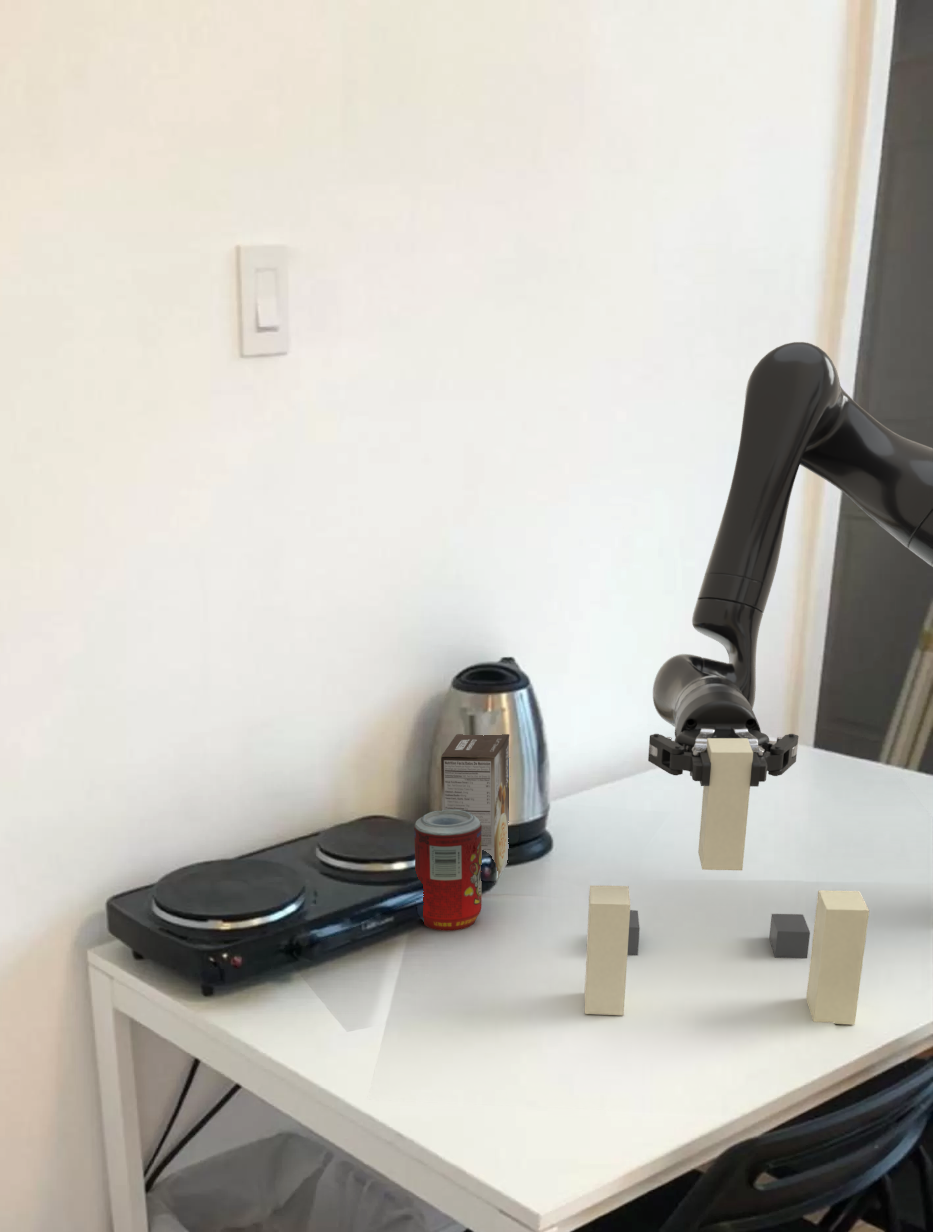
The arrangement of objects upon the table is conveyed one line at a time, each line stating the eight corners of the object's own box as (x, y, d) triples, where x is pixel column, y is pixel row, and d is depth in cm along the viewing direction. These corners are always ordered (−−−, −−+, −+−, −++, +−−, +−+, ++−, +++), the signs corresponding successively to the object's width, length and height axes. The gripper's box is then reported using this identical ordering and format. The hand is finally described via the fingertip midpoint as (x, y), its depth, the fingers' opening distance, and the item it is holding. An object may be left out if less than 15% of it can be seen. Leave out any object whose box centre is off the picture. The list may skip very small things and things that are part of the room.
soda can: (487, 933, 159) (486, 824, 154) (420, 938, 159) (417, 830, 154) (476, 909, 165) (475, 803, 160) (412, 913, 166) (409, 808, 161)
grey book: (635, 941, 155) (637, 910, 153) (637, 959, 150) (639, 927, 149) (605, 940, 155) (607, 909, 154) (606, 958, 151) (608, 926, 150)
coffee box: (456, 860, 181) (455, 732, 174) (509, 863, 179) (510, 733, 172) (441, 888, 173) (439, 754, 167) (496, 891, 171) (497, 756, 164)
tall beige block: (737, 853, 140) (747, 738, 135) (742, 870, 135) (753, 752, 131) (698, 852, 140) (707, 738, 136) (701, 869, 136) (711, 752, 132)
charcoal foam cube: (799, 946, 151) (803, 914, 150) (806, 965, 147) (810, 932, 145) (768, 945, 152) (771, 913, 150) (774, 964, 147) (777, 931, 146)
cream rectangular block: (622, 994, 143) (628, 885, 138) (623, 1015, 138) (630, 904, 134) (584, 992, 144) (589, 885, 139) (584, 1014, 139) (590, 903, 135)
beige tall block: (845, 1002, 138) (859, 890, 134) (854, 1025, 134) (869, 910, 129) (805, 1001, 139) (818, 890, 135) (813, 1023, 134) (826, 909, 130)
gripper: (643, 691, 147) (650, 734, 132) (795, 690, 144) (821, 733, 129) (638, 765, 150) (645, 815, 135) (788, 766, 147) (812, 817, 131)
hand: (731, 775), depth 132 cm, fingers closed on tall beige block, 3 cm apart
